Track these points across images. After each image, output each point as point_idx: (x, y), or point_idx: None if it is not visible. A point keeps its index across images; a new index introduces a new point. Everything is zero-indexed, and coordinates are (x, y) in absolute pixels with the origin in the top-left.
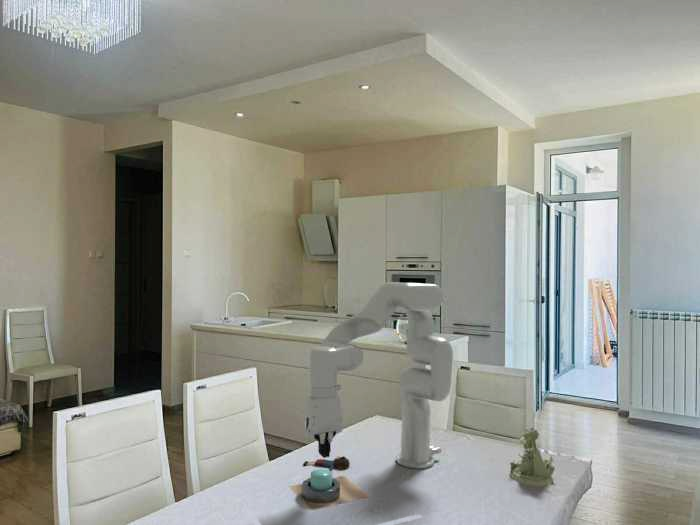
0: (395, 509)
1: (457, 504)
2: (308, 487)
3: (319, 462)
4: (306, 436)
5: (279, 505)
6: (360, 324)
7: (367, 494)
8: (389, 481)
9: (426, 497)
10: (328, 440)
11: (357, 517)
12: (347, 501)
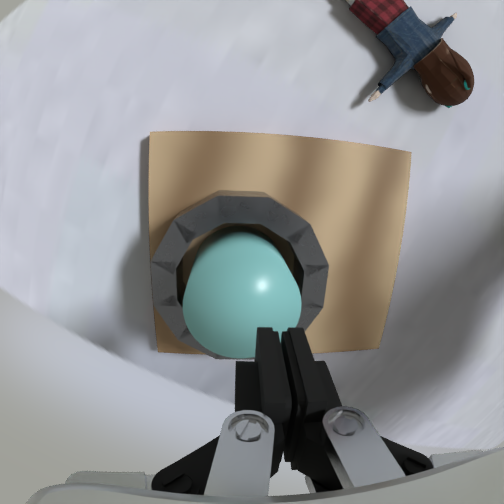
0: (383, 400)
1: (476, 403)
2: (170, 291)
3: (376, 9)
4: (72, 482)
5: (79, 245)
6: None
7: (381, 333)
8: (488, 252)
9: (471, 367)
10: (306, 482)
11: None
12: None
